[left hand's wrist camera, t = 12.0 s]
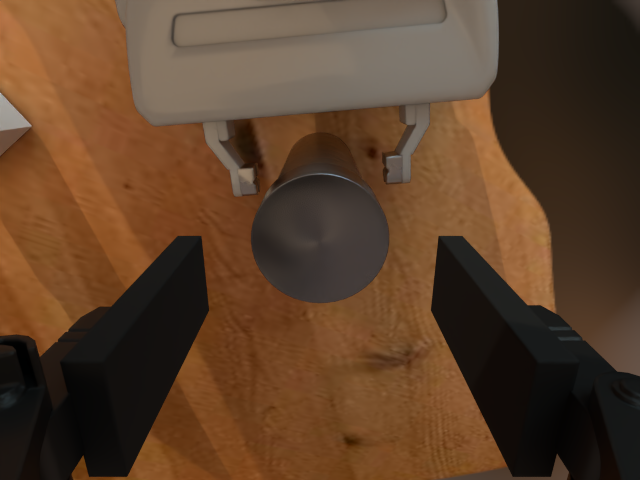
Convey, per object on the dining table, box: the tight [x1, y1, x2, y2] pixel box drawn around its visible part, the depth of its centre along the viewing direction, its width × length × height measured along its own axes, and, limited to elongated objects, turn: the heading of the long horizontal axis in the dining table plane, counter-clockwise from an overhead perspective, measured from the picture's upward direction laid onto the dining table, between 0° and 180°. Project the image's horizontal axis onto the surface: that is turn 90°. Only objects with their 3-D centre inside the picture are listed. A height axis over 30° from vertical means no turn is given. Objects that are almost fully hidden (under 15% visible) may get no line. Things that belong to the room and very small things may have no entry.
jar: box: [279, 133, 362, 178], centre depth 25 cm, size 5×5×16 cm
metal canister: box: [251, 163, 389, 303], centre depth 18 cm, size 6×6×2 cm
